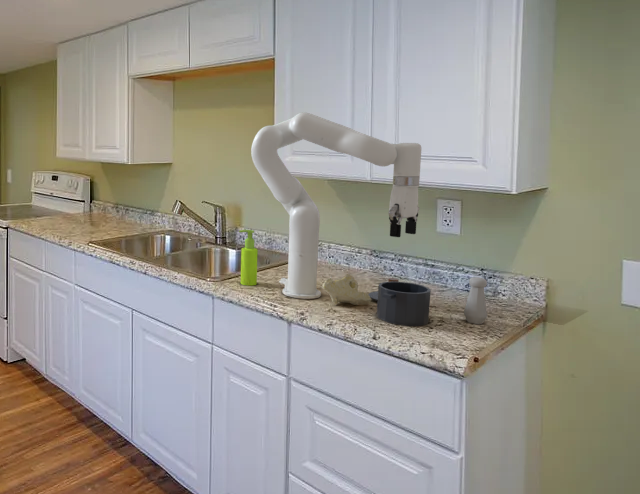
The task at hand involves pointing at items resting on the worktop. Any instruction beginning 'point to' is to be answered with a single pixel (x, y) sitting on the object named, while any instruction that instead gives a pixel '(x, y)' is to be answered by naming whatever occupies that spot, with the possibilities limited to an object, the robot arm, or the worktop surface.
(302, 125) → the robot arm
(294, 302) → the worktop surface
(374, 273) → the worktop surface
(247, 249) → the soap dispenser
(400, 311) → the pot
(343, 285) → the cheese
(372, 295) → the lid
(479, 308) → the salt shaker
